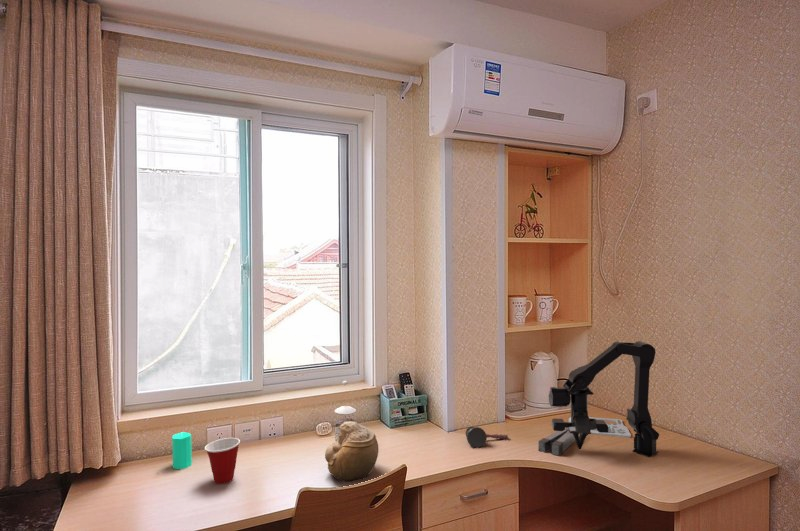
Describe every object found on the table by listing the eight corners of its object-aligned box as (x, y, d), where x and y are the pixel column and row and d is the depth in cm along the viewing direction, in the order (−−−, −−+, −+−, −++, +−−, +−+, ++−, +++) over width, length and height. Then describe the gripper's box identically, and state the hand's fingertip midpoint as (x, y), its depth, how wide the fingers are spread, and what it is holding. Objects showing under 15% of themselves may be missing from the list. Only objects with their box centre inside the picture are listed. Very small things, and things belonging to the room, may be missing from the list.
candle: (173, 463, 170) (172, 429, 170) (192, 460, 173) (191, 426, 172) (172, 470, 165) (171, 434, 165) (191, 467, 167) (190, 432, 167)
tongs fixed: (565, 435, 194) (565, 422, 194) (575, 437, 191) (575, 425, 191) (538, 450, 179) (538, 437, 179) (549, 453, 176) (549, 440, 176)
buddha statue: (332, 461, 171) (333, 411, 172) (381, 464, 170) (382, 414, 170) (316, 486, 152) (317, 430, 152) (371, 490, 150) (372, 433, 150)
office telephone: (568, 427, 198) (567, 412, 217) (568, 434, 198) (567, 418, 217) (631, 432, 191) (624, 416, 210) (631, 439, 191) (624, 422, 210)
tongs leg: (569, 439, 190) (568, 429, 189) (575, 440, 188) (575, 431, 188) (551, 453, 175) (551, 443, 175) (559, 455, 174) (558, 445, 174)
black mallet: (466, 447, 182) (461, 442, 190) (513, 451, 183) (506, 446, 192) (468, 426, 183) (463, 422, 191) (514, 431, 184) (507, 426, 193)
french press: (328, 450, 181) (327, 383, 180) (339, 439, 192) (338, 375, 192) (353, 453, 178) (352, 384, 178) (363, 441, 190) (362, 377, 189)
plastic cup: (208, 474, 161) (207, 438, 161) (242, 471, 164) (241, 435, 164) (201, 489, 151) (201, 450, 151) (238, 485, 153) (238, 447, 153)
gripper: (555, 412, 171) (556, 456, 171) (612, 414, 168) (612, 459, 168) (551, 402, 182) (551, 444, 182) (604, 404, 179) (604, 446, 179)
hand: (579, 448), depth 177 cm, fingers closed
